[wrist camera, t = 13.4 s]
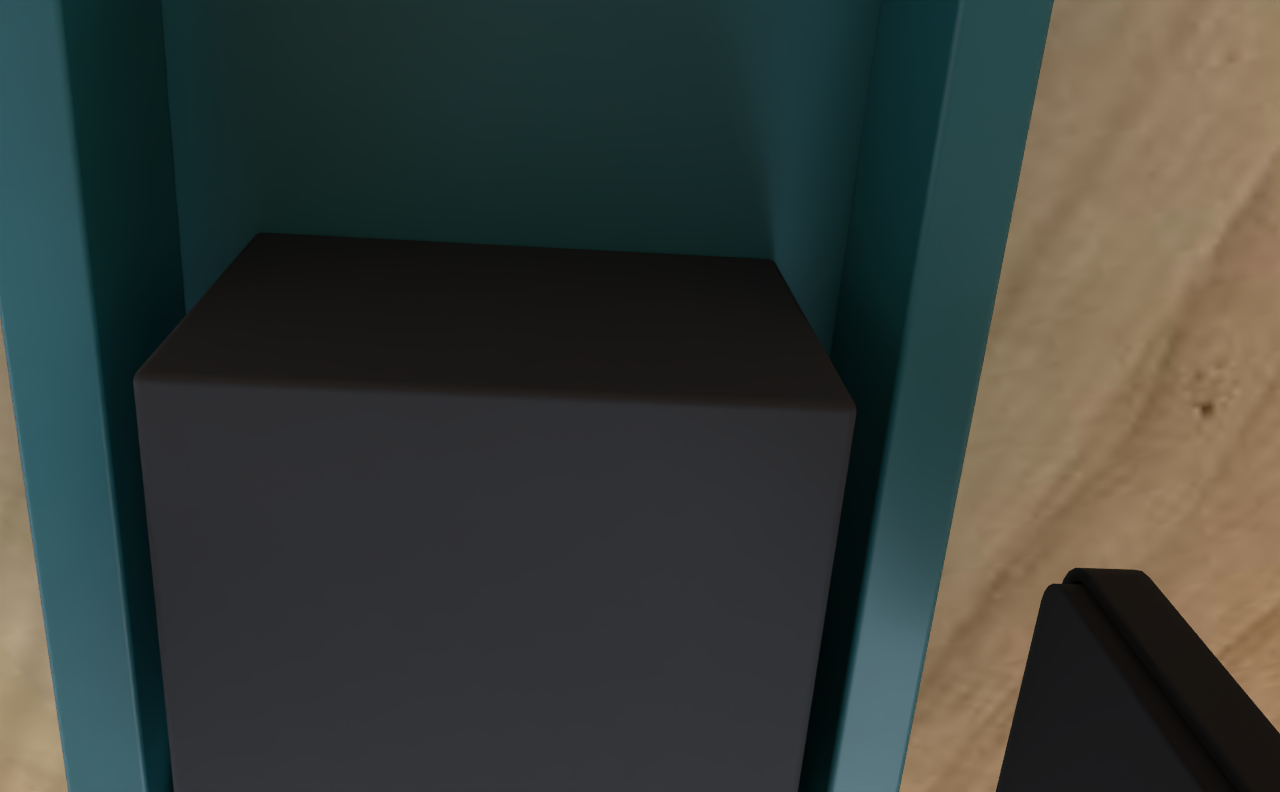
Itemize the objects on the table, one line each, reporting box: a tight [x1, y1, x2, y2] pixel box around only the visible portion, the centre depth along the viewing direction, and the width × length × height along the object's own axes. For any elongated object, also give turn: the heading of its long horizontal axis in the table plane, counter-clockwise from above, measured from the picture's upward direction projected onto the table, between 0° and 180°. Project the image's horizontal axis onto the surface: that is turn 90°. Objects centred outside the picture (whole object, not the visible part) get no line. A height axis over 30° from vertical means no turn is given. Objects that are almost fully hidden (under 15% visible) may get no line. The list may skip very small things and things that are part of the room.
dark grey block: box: [133, 233, 857, 792], centre depth 12 cm, size 6×6×4 cm
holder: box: [0, 0, 1054, 792], centre depth 12 cm, size 15×9×3 cm, turn 176°
